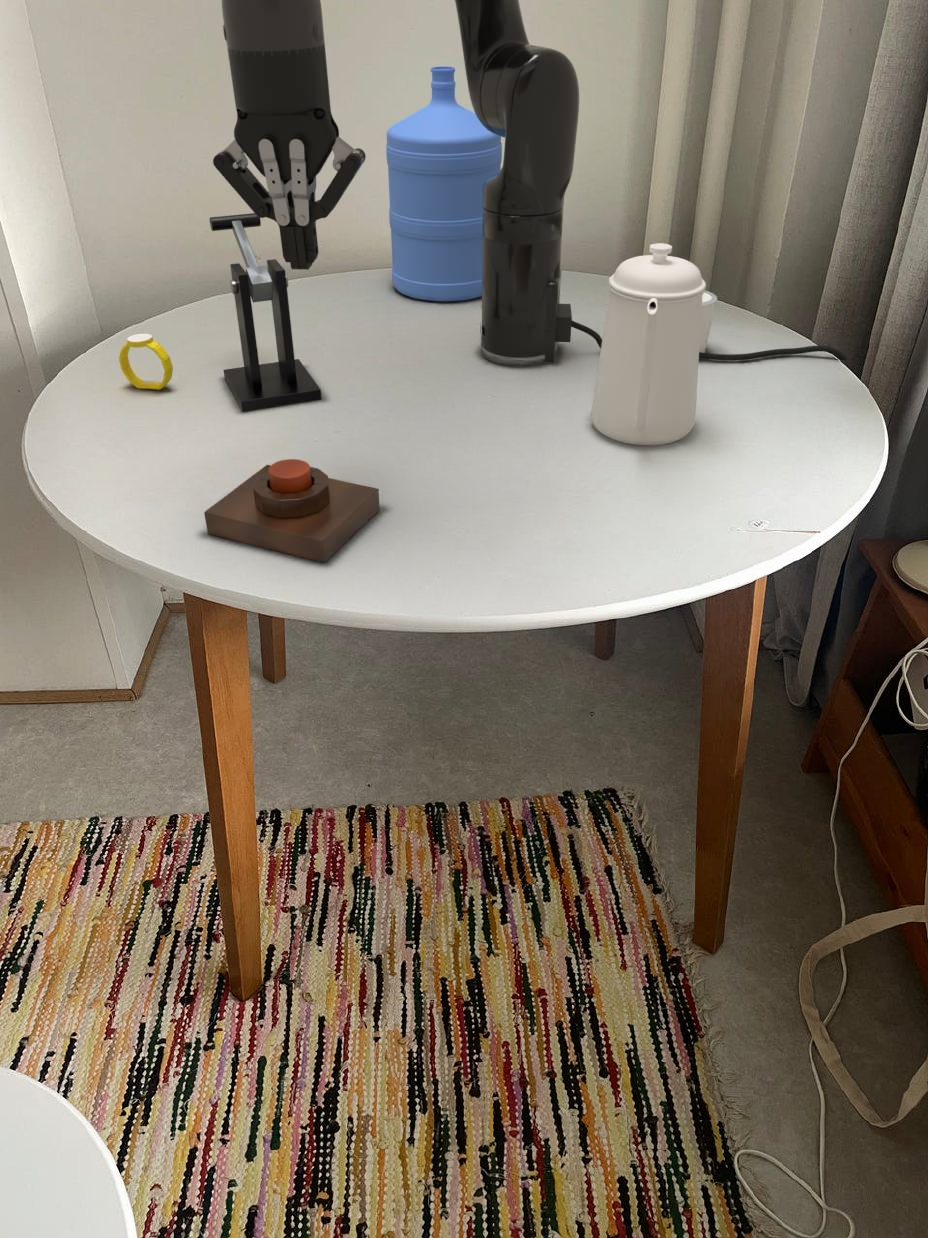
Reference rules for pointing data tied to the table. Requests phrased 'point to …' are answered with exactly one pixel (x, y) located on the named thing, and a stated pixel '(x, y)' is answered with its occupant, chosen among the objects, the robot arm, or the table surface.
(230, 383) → the bracket
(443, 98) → the water jug
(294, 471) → the button
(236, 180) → the robot arm
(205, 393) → the table surface
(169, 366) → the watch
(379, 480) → the table surface
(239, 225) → the lever
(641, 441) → the coffeepot
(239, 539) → the button block
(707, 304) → the white cup
